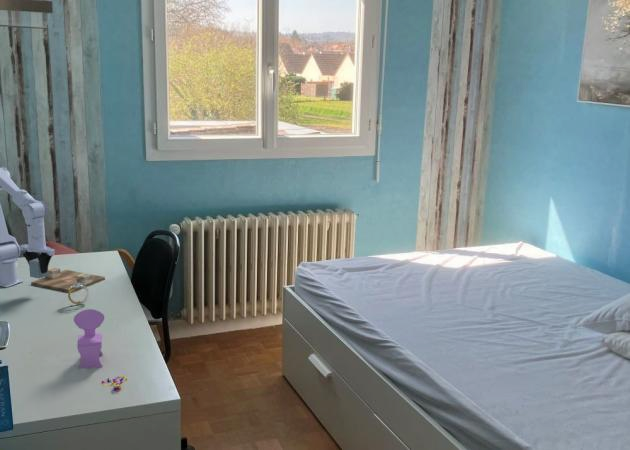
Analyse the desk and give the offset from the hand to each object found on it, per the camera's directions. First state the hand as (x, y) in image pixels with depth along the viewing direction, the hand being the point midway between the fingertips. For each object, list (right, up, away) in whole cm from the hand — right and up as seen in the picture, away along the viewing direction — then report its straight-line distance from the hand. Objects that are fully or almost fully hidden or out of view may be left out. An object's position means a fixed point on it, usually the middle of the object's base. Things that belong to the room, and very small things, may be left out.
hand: (39, 271), depth 242 cm
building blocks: (+47, -26, -64) cm, 84 cm away
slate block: (0, -2, 0) cm, 2 cm away
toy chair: (+36, -22, -52) cm, 67 cm away
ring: (+17, -11, -7) cm, 22 cm away
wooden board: (+5, -5, +16) cm, 17 cm away
